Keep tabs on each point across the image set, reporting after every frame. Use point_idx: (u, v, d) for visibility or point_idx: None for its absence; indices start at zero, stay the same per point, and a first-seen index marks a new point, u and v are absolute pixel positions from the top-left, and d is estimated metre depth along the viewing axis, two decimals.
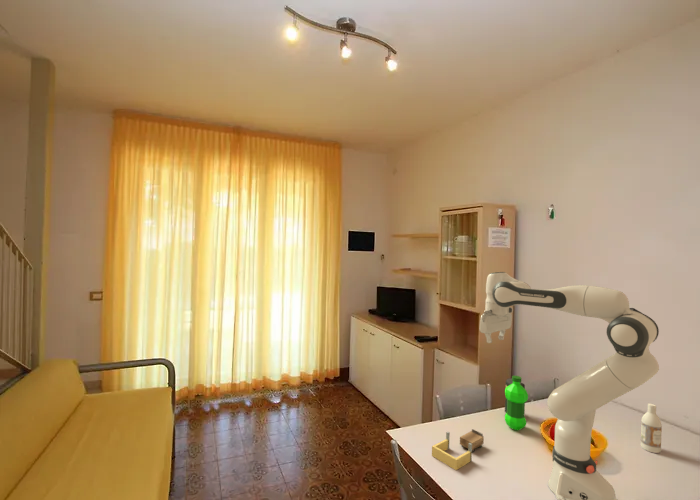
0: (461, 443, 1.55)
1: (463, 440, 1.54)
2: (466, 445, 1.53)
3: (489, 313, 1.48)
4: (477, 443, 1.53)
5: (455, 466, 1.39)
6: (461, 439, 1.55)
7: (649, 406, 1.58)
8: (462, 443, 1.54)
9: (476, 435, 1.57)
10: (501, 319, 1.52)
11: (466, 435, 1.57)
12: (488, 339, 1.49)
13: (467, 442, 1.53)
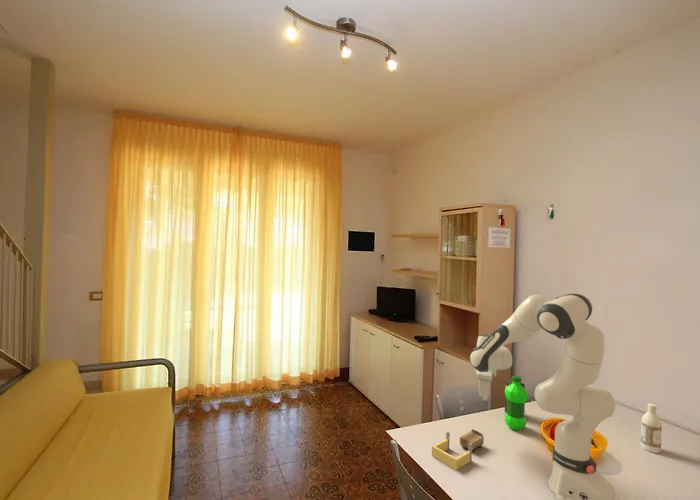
0: (461, 443, 1.55)
1: (463, 440, 1.54)
2: (466, 445, 1.53)
3: None
4: (477, 443, 1.53)
5: (455, 466, 1.39)
6: (461, 439, 1.55)
7: (649, 406, 1.58)
8: (462, 443, 1.54)
9: (476, 435, 1.57)
10: None
11: (466, 435, 1.57)
12: None
13: (467, 442, 1.53)
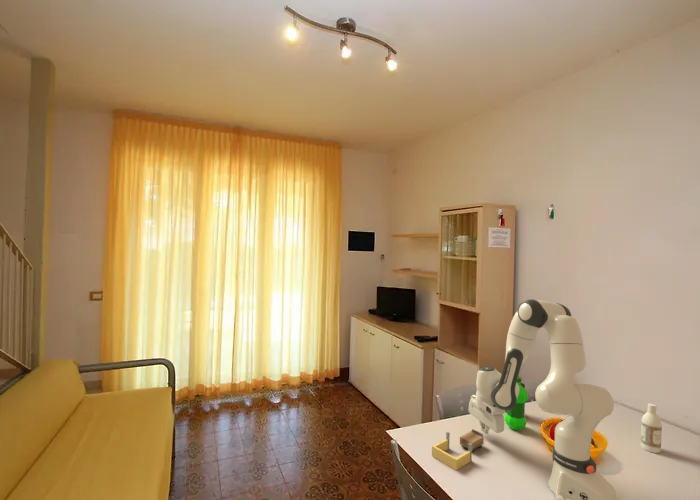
0: (461, 443, 1.55)
1: (463, 440, 1.54)
2: (466, 445, 1.53)
3: (476, 399, 1.68)
4: (477, 443, 1.53)
5: (455, 466, 1.39)
6: (461, 439, 1.55)
7: (649, 406, 1.58)
8: (462, 443, 1.54)
9: (476, 435, 1.57)
10: (485, 414, 1.60)
11: (466, 435, 1.57)
12: None
13: (467, 442, 1.53)
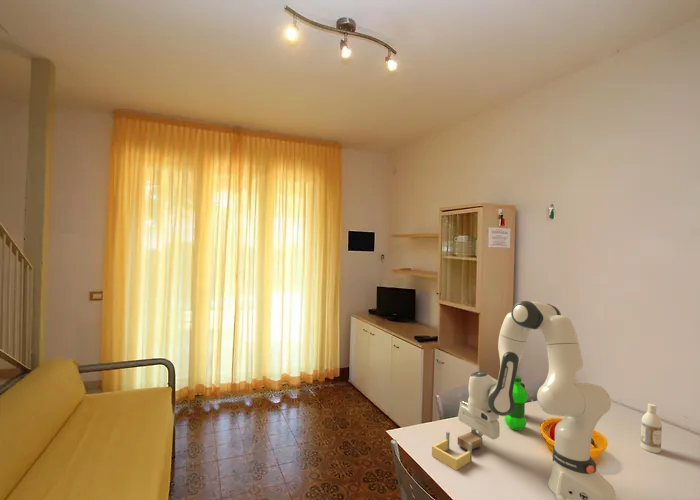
0: (459, 443, 1.55)
1: (460, 440, 1.54)
2: (463, 445, 1.53)
3: (466, 406, 1.64)
4: (474, 444, 1.53)
5: (455, 466, 1.39)
6: (459, 439, 1.55)
7: (649, 406, 1.58)
8: (459, 443, 1.54)
9: (475, 436, 1.56)
10: (479, 420, 1.56)
11: (464, 435, 1.56)
12: None
13: (464, 442, 1.52)
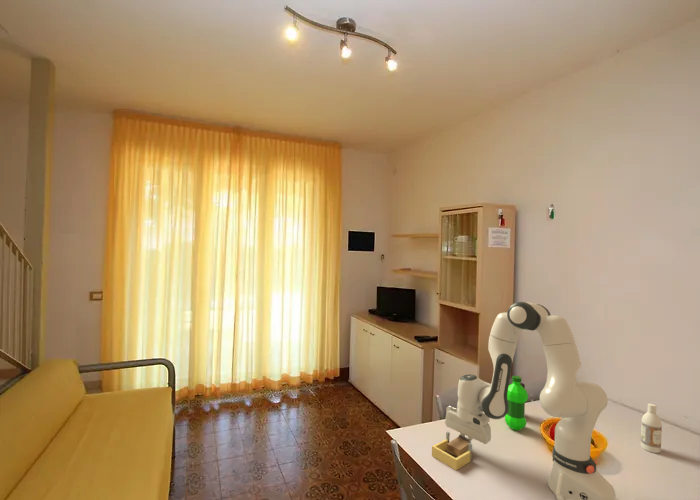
0: (448, 450, 1.49)
1: (450, 447, 1.49)
2: (453, 452, 1.47)
3: (454, 410, 1.58)
4: (464, 449, 1.48)
5: (455, 466, 1.39)
6: (448, 446, 1.49)
7: (649, 406, 1.58)
8: (449, 450, 1.49)
9: (463, 441, 1.52)
10: (469, 425, 1.52)
11: (453, 441, 1.51)
12: None
13: (454, 449, 1.47)
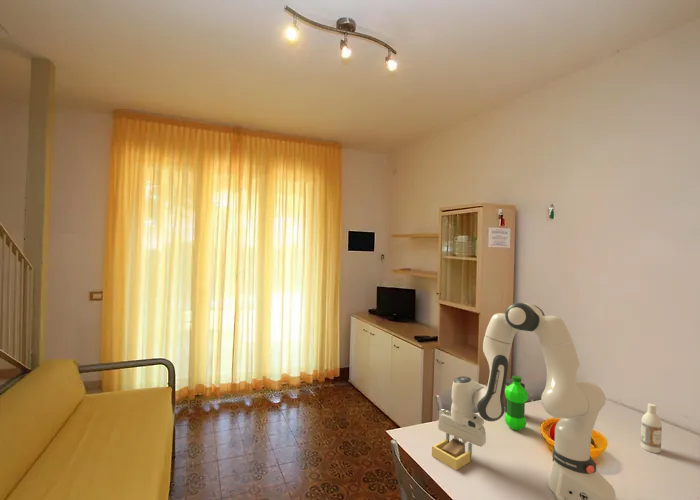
0: None
1: None
2: None
3: (447, 413, 1.55)
4: (459, 453, 1.45)
5: (455, 466, 1.39)
6: (443, 450, 1.46)
7: (649, 406, 1.58)
8: None
9: (457, 444, 1.49)
10: (463, 428, 1.49)
11: (447, 445, 1.48)
12: None
13: (450, 453, 1.44)
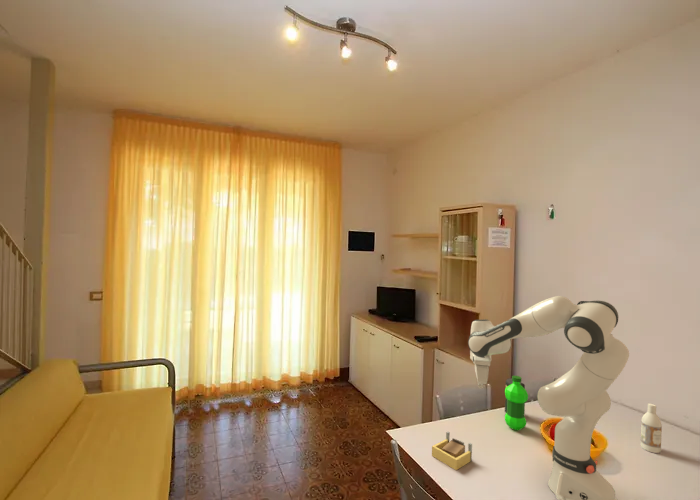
0: None
1: None
2: None
3: None
4: (459, 453, 1.45)
5: (455, 466, 1.39)
6: (443, 450, 1.46)
7: (649, 406, 1.58)
8: None
9: (457, 444, 1.49)
10: None
11: (447, 445, 1.48)
12: None
13: (450, 453, 1.44)
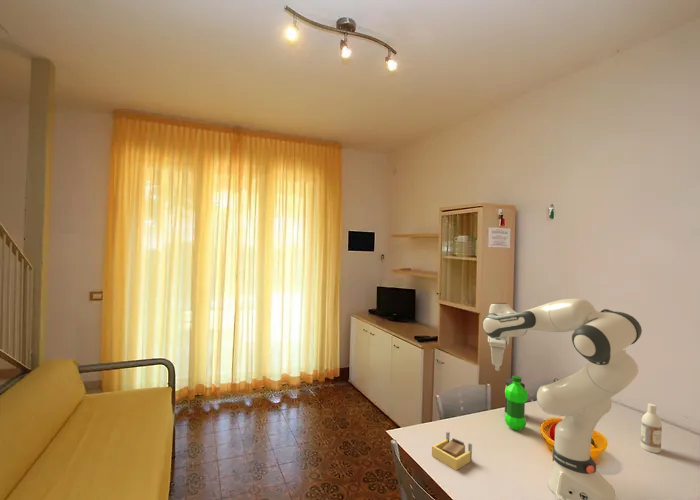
0: None
1: None
2: None
3: None
4: (459, 453, 1.45)
5: (455, 466, 1.39)
6: (443, 450, 1.46)
7: (649, 406, 1.58)
8: None
9: (457, 444, 1.49)
10: None
11: (447, 445, 1.48)
12: None
13: (450, 453, 1.44)
